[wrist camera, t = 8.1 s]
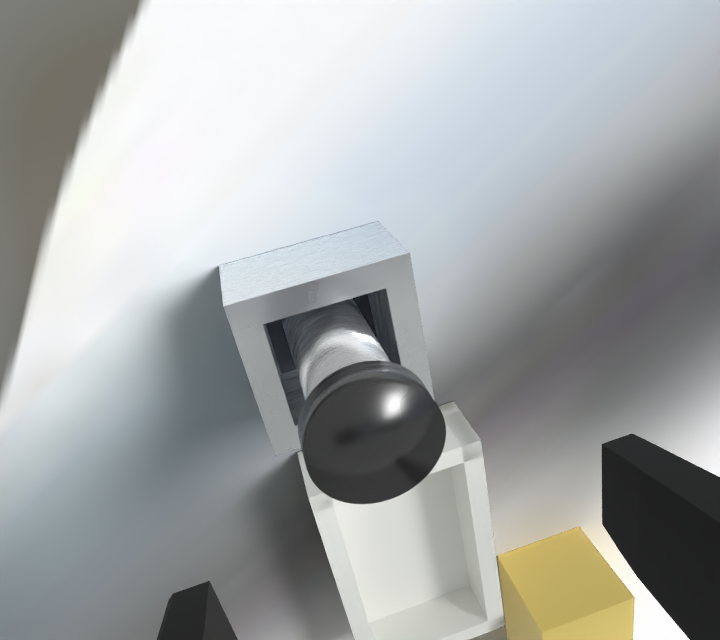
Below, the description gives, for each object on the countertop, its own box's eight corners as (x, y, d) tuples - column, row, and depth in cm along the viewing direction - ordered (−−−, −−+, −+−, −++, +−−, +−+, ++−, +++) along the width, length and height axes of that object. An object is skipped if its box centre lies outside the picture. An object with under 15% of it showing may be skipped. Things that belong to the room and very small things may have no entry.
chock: (577, 524, 27) (634, 597, 23) (579, 608, 30) (630, 684, 26) (496, 553, 26) (542, 632, 23) (506, 636, 29) (548, 718, 26)
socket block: (378, 221, 18) (409, 253, 16) (404, 356, 21) (435, 404, 18) (218, 265, 18) (223, 306, 15) (264, 400, 20) (274, 455, 17)
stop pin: (356, 255, 19) (435, 364, 12) (375, 342, 20) (454, 477, 14) (256, 283, 18) (287, 411, 12) (283, 370, 20) (323, 521, 14)
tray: (453, 401, 22) (480, 440, 20) (480, 579, 27) (505, 625, 25) (297, 452, 21) (308, 498, 19) (353, 626, 26) (367, 678, 24)
